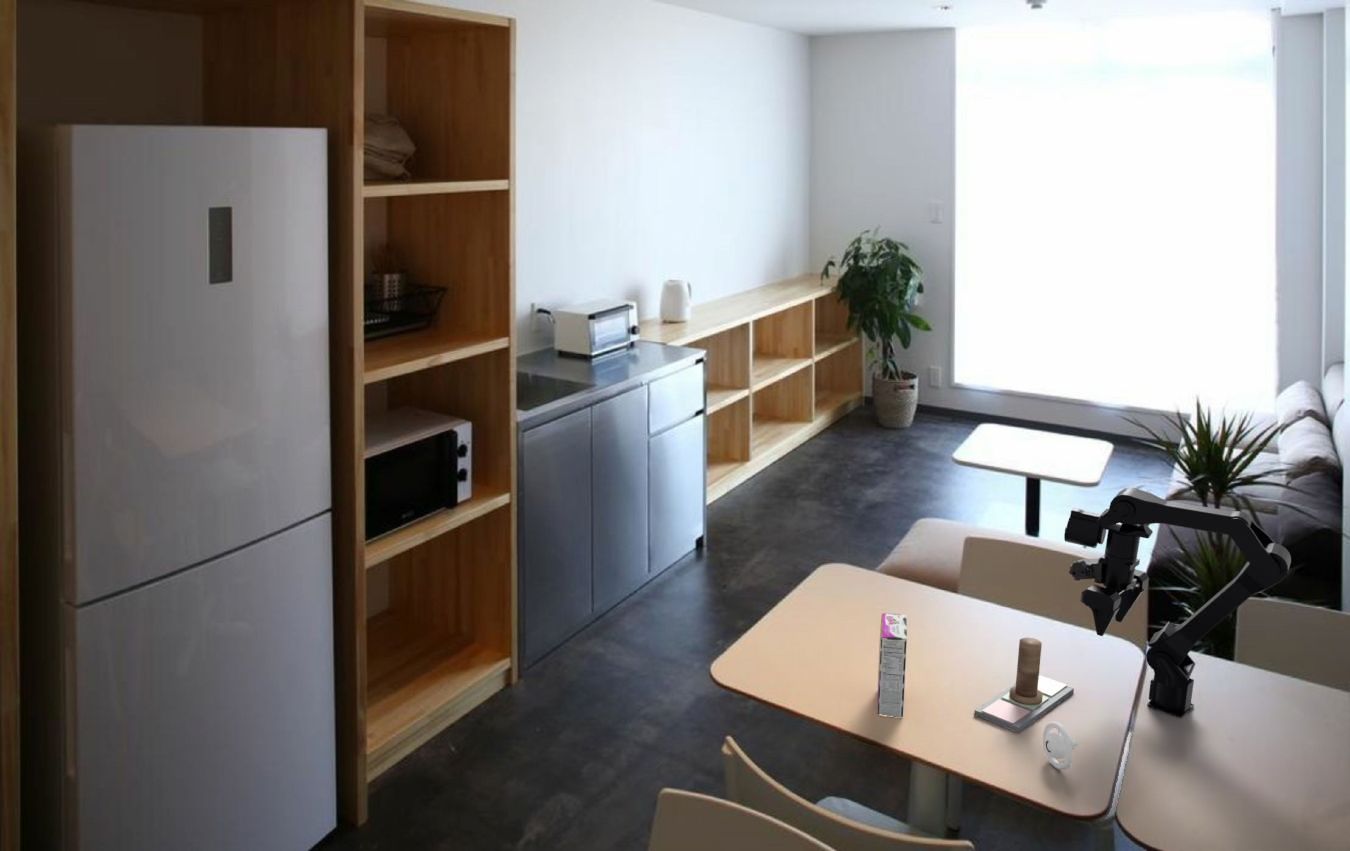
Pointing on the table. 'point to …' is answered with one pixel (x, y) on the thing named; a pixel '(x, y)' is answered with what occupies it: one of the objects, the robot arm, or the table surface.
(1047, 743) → the ring around a ball
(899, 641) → the candy bar box
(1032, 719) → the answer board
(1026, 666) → the brown wooden peg
